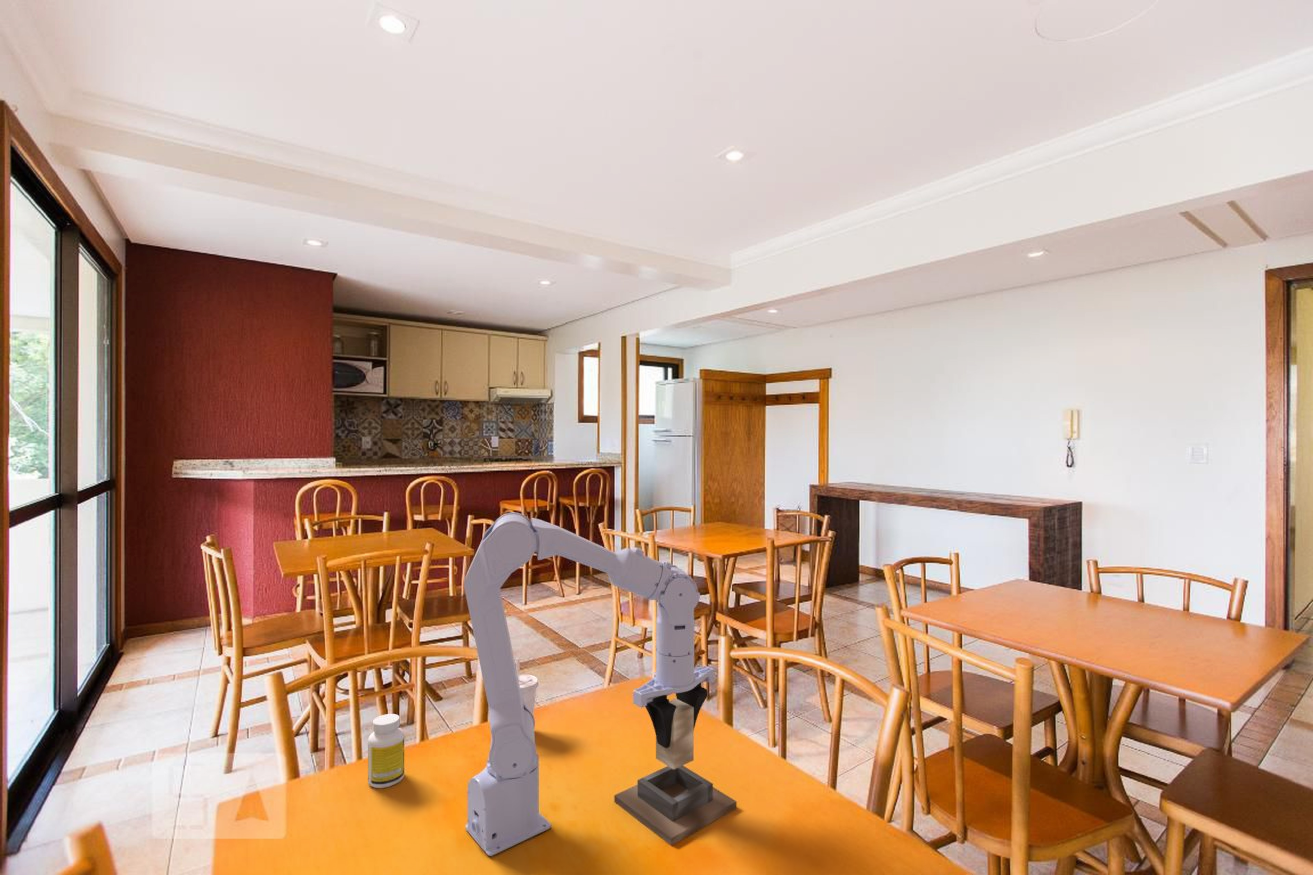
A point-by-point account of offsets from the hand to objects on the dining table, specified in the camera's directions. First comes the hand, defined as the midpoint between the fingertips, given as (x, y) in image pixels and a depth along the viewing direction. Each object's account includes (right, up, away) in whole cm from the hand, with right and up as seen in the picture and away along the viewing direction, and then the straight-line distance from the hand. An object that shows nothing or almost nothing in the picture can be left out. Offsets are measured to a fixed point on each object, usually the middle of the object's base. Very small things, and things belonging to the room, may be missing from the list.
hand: (675, 739), depth 94 cm
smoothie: (-28, -10, +22) cm, 37 cm away
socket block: (0, -10, 0) cm, 10 cm away
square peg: (0, -3, 0) cm, 3 cm away
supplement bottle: (-46, -10, +7) cm, 48 cm away
